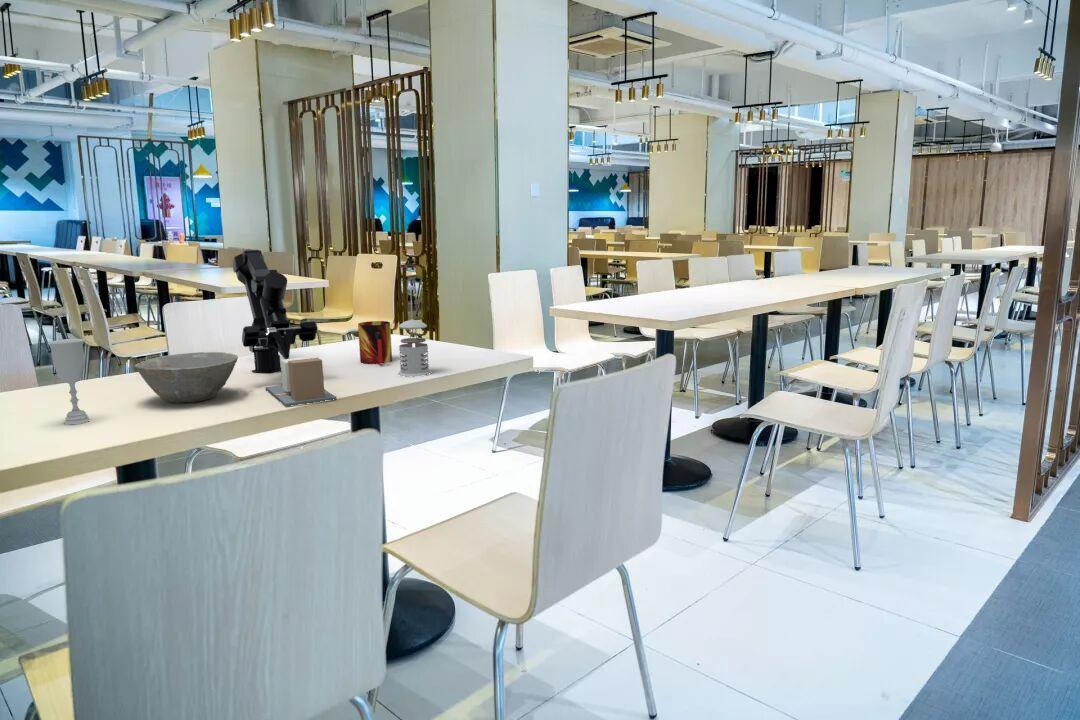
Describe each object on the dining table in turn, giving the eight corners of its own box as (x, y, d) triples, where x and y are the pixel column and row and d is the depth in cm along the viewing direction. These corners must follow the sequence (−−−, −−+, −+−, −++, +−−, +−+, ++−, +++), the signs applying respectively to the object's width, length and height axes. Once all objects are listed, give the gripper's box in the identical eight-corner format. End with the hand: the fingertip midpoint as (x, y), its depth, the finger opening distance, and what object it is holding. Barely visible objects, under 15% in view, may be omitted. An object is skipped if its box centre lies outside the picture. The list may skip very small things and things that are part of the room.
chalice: (70, 418, 168) (59, 339, 164) (101, 416, 168) (91, 338, 165) (51, 426, 160) (40, 344, 157) (84, 425, 161) (73, 343, 158)
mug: (380, 367, 221) (378, 327, 219) (354, 361, 230) (351, 323, 228) (406, 362, 228) (404, 323, 226) (380, 357, 237) (377, 320, 235)
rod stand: (265, 390, 193) (262, 352, 191) (312, 384, 199) (309, 347, 197) (285, 407, 174) (282, 365, 172) (336, 400, 180) (333, 359, 179)
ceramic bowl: (143, 395, 189) (138, 356, 188) (240, 386, 198) (236, 349, 196) (134, 415, 169) (129, 372, 168) (242, 404, 178) (239, 363, 176)
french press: (396, 377, 205) (391, 287, 201) (397, 369, 217) (393, 283, 212) (432, 376, 207) (428, 286, 202) (431, 368, 218) (428, 282, 213)
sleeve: (282, 388, 186) (280, 359, 185) (311, 384, 190) (309, 356, 188) (287, 391, 182) (285, 362, 180) (317, 387, 185) (315, 359, 184)
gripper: (305, 327, 212) (318, 372, 205) (235, 333, 202) (247, 380, 195) (310, 302, 204) (324, 348, 197) (238, 307, 194) (250, 355, 187)
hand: (287, 358), depth 194 cm, fingers closed
